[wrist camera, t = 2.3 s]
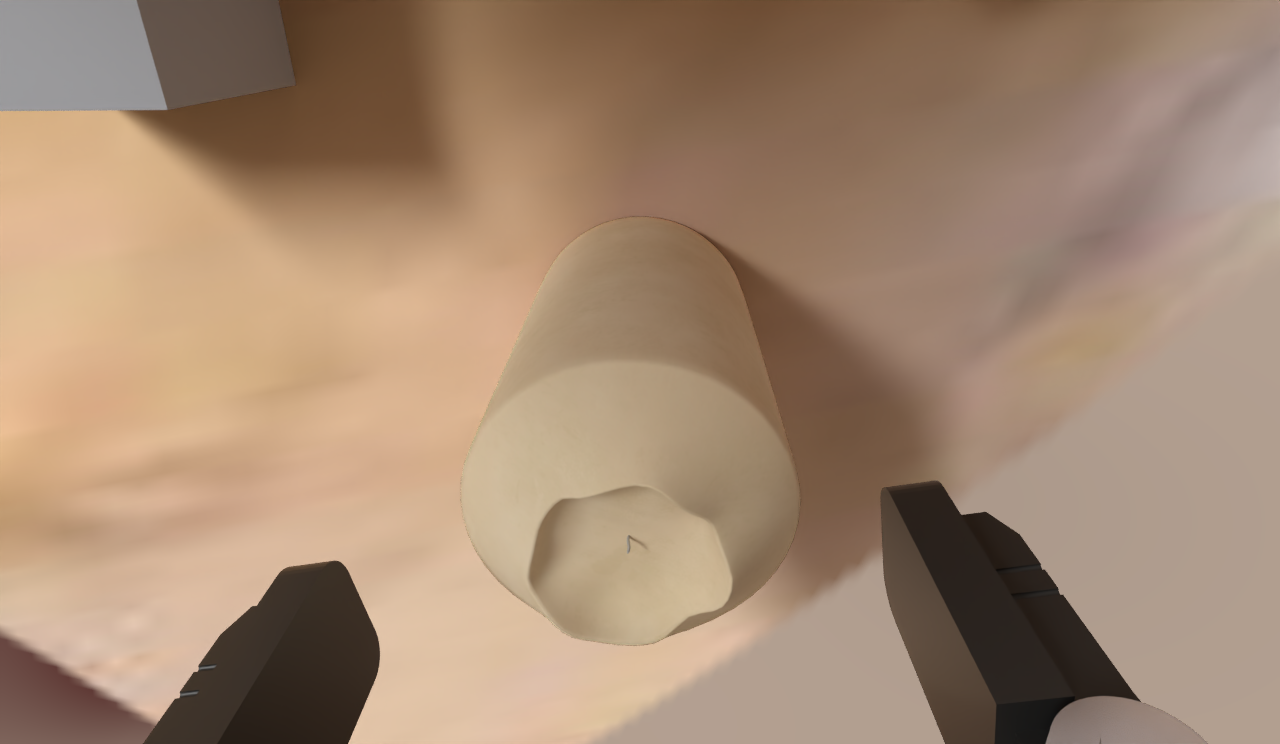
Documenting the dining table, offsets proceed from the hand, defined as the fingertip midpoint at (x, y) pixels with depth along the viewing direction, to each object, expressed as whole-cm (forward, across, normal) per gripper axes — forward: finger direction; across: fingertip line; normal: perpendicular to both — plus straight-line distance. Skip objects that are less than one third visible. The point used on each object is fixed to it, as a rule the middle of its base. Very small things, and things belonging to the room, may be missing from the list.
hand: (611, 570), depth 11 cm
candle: (+10, 0, 0) cm, 10 cm away
